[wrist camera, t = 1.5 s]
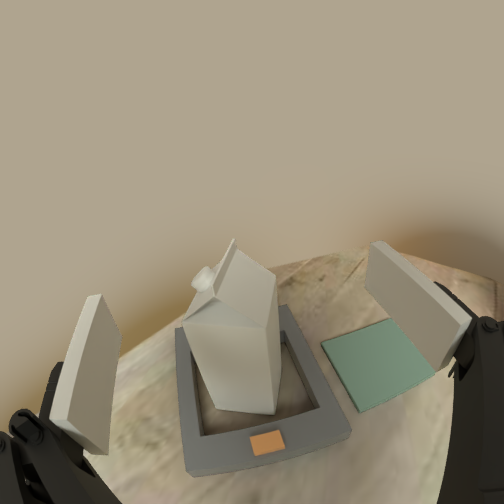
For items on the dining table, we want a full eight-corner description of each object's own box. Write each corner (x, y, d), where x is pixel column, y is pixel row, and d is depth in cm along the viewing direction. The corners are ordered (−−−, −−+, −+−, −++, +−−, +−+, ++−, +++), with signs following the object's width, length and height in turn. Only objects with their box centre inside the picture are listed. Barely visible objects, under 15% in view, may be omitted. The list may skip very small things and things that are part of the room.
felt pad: (390, 320, 39) (391, 317, 38) (434, 374, 28) (435, 372, 28) (321, 345, 37) (321, 342, 37) (358, 413, 27) (359, 411, 26)
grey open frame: (287, 316, 43) (285, 281, 40) (347, 438, 24) (360, 411, 21) (179, 340, 41) (166, 306, 37) (193, 477, 22) (171, 458, 18)
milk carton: (282, 369, 34) (273, 237, 25) (275, 416, 28) (261, 286, 19) (228, 365, 36) (197, 238, 26) (215, 409, 30) (166, 283, 20)
